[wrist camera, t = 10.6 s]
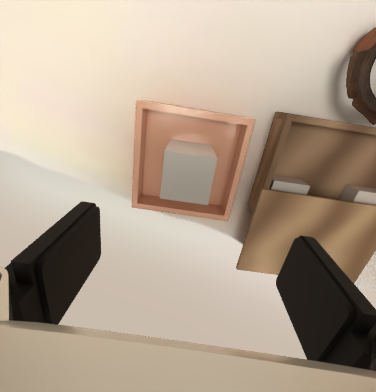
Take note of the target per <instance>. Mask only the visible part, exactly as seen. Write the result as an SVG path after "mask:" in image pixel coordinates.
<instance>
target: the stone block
mask: <svg viewBox="0 0 376 392" xmlns="http://www.w3.org/2000/svg"><path fill="white" fill-rule="evenodd" d="M217 159H218V158H217V156H216V154H215V151H214V149H213V147H212V145H209V144H203V143H196V142H190V141H183V140H177V139H171V140H170V142H169V144H168V145H167V147H166V149H165V152H164V162H163V172H162V181H161V191H160V198H161V199H168V200H175V201H182V202H189V203H196V204H203V205H208V201H209V197H210V192H211V187H212V182H213V178H214V173H215V168H216V163H217Z"/></svg>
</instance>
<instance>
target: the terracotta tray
mask: <svg viewBox="0 0 376 392" xmlns="http://www.w3.org/2000/svg"><path fill="white" fill-rule="evenodd" d="M254 124H255V119H251V118H248V117H241V116H235V115H229V114H223V113H217V112H211V111H205V110H199V109H193V108H187V107H181V106H175V105H169V104H162V103H156V102H150V101H144V100H136V120H135V144H134V167H133V190H132V207H133V208H140V209H147V210H154V211H161V212H168V213H175V214H182V215H189V216H196V217H203V218H210V219H217V220H224V221H228V220H229V216H230V213H231V209H232V205H233V201H234V198H235V194H236V190H237V187H238V183H239V179H240V175H241V172H242V168H243V164H244V161H245V157H246V153H247V149H248V146H249V142H250V138H251V135H252V131H253V127H254ZM171 139H177V140H183V141H190V142H196V143H203V144H209V145H212V147H213V149H214V151H215V154H216V156H217V158H218V159H217V163H216V168H215V173H214V178H213V182H212V187H211V192H210V197H209V201H208V205H203V204H196V203H189V202H182V201H175V200H168V199H161V198H160V191H161V181H162V172H163V162H164V152H165V149H166V147H167V145H168V144H169V142H170V140H171Z"/></svg>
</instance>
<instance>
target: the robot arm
mask: <svg viewBox="0 0 376 392" xmlns="http://www.w3.org/2000/svg"><path fill="white" fill-rule="evenodd" d="M100 255H101V238H100V209H99V207H96V204H95V203H89V202H80V203H79V204H78V205H77V206H76V207H74V208H73V209H72V210H71V211H70V212H68V213H67V214H66V215H65V216H64V217H62V218H61V219H60V220H59V221H58V222H57V223H55V224H54V225H53V226H52V227H51V228H49V229H48V230H47V231H46V232H45V233H44V234H42V235H41V236H40V237H39V238H38V239H36V240H35V241H34V242H33V243H32V244H31V245H29V246H28V247H27V248H26V249H25V250H23V251H22V252H21V253H20V254H19V255H18V256H16V257H15V258H14V259H13V260H12V261H11V263H10V264H9V265H8V266H7V267H6V268H3V267H0V392H376V309H375V308H374V307H373V306H372V305H371V303H370V302H369V301H368V300H367V299H366V298H365V296H364V295H363V294H362V293H361V292H360V291H359V289H358V288H357V287H356V286H355V285H354V283H353V282H352V281H351V280H350V279H349V278H348V276H347V275H346V274H345V273H344V272H343V271H342V269H341V268H340V267H339V266H338V265H337V264H336V262H335V261H334V260H333V259H332V258H331V257H330V255H329V254H328V253H327V252H326V251H325V249H324V248H323V247H322V246H321V245H320V244H319V242H318V241H317V240H316V239H315V238H313V237H308V236H299V237H298V238H295V239H294V241H293V243H292V245H291V248H290V250H289V252H288V254H287V257H286V259H285V261H284V263H283V266H282V268H281V270H280V272H279V275H278V277H277V280H276V286H277V289H278V291H279V293H280V296H281V297H282V301H283V303H284V305H285V308H286V310H287V312H288V315H289V317H290V320H291V322H292V324H293V327H294V329H295V331H296V334H297V336H298V338H299V341H300V343H301V345H302V348H303V350H304V353H305V355H306V357H307V360H305V359H298V358H291V357H285V356H278V355H272V354H265V353H258V352H251V351H245V350H238V349H231V348H224V347H217V346H210V345H203V344H196V343H189V342H182V341H175V340H167V339H161V338H154V337H146V336H140V335H132V334H125V333H118V332H111V331H103V330H96V329H88V328H81V327H73V326H64V325H58V324H59V322H60V321H61V319H62V317H63V316H64V314H65V313H66V311H67V310H68V308H69V306H70V305H71V303H72V302H73V300H74V298H75V297H76V295H77V294H78V292H79V291H80V289H81V287H82V286H83V284H84V283H85V281H86V280H87V277H88V276H89V275H90V273H91V272H92V270H93V268H94V267H95V265H96V264H97V262H98V260H99V258H100Z"/></svg>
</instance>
